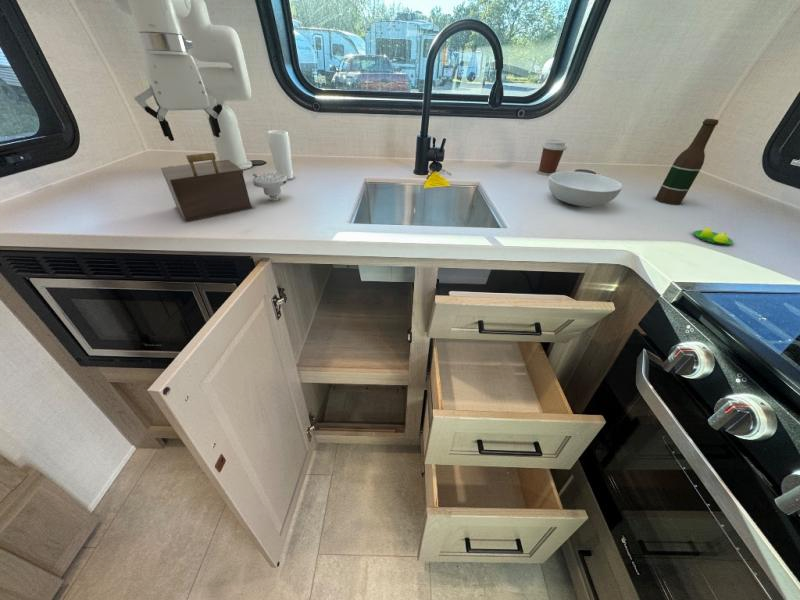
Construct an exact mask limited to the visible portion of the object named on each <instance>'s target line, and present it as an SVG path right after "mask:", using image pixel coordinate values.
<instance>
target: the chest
mask: <svg viewBox="0 0 800 600" xmlns="http://www.w3.org/2000/svg"><path fill="white" fill-rule="evenodd" d="M162 175H163V177H164V180H165V182H166V184H167V187H168V189H169V192H170V195H171V197H172V200H173V202H174V205H175V207H176V209H177V210H178V212H179V214H180V215H181V216H182V218H183V219H184V221H185V222H191V221H196V220H201V219H207V218H211V217H214V216H215V217H216V216H220V215H225V214H231V213H235V212H240V211H246V210H249V209H250V210H251V209H252V207H253V206H252V204H251V199H250V196H249V192H248V189H247V184H246V181H245V177H244V172H243V173H239V174H232V175H225V176H218V177H211V178H204V179H197V180H190V181H183V182H176V183H171V182H170V181H169V180H168V178H167V177H166V176H165V174H164V173H163V172H162Z"/></svg>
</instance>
